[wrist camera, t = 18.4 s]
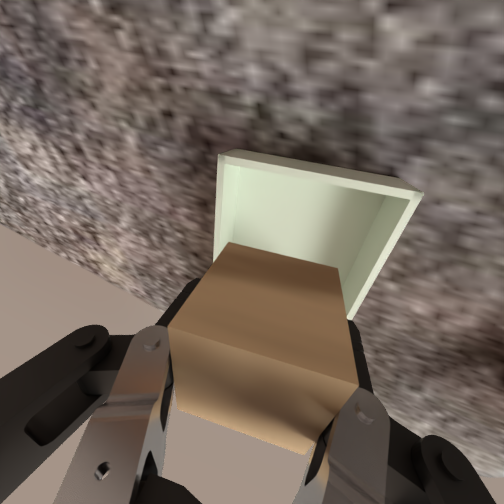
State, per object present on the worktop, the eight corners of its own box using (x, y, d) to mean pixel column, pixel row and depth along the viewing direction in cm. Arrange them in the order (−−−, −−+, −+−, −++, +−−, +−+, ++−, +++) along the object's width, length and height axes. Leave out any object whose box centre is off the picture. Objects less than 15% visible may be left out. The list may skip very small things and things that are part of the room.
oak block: (228, 241, 10) (167, 326, 6) (338, 268, 9) (359, 385, 5) (222, 315, 13) (177, 409, 8) (307, 339, 12) (304, 455, 8)
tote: (236, 148, 21) (217, 154, 17) (399, 178, 19) (424, 193, 15) (224, 292, 31) (210, 318, 27) (329, 321, 29) (332, 354, 25)
